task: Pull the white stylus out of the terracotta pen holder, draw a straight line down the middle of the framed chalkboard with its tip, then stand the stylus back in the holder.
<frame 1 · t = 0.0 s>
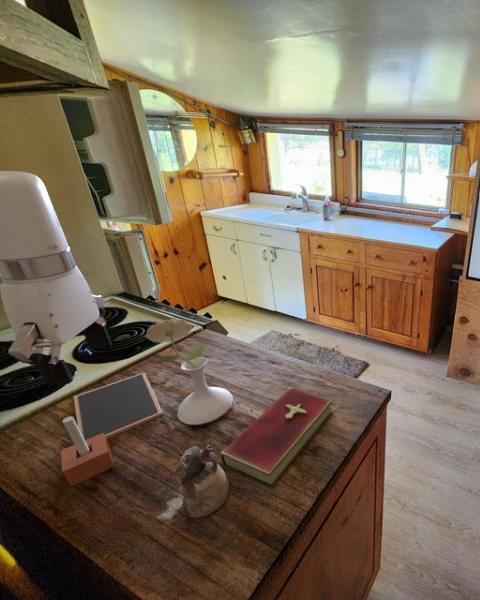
hand: (82, 363, 53), 24 cm above the counter, tool pointing down, fingers open, 9 cm apart
figurine: (208, 498, 58), on the counter
pen holder: (91, 465, 63), on the counter
stylus: (80, 443, 60), in the pen holder
hardcover book: (283, 437, 71), on the counter
framed chalkboard: (118, 406, 77), on the counter
flower in vase: (203, 412, 77), on the counter
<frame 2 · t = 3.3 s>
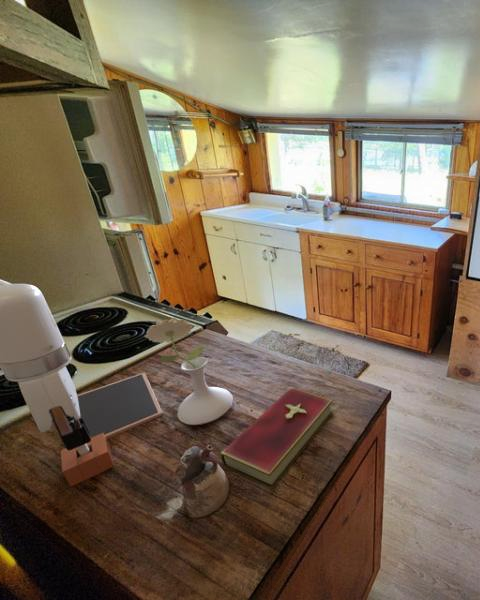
hand: (79, 441, 60), 7 cm above the counter, tool pointing down, fingers closed on stylus, 1 cm apart
stylus: (80, 443, 60), in the pen holder, touching gripper
everything else where it was.
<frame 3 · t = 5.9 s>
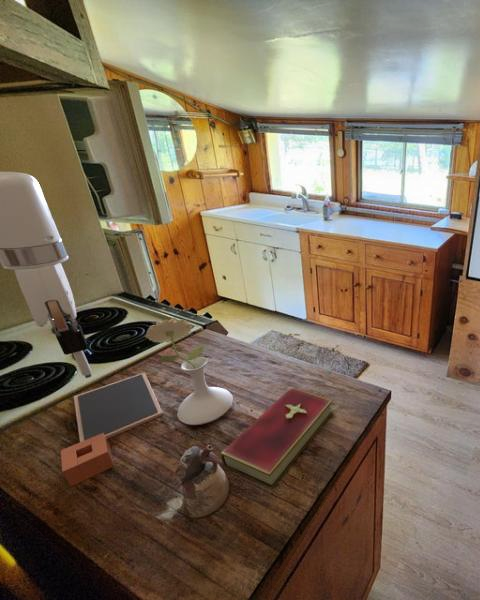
hand: (76, 348, 60), 22 cm above the counter, tool pointing down, fingers closed on stylus, 1 cm apart
stylus: (77, 350, 61), point 21 cm above the counter, touching gripper
everything else where it was.
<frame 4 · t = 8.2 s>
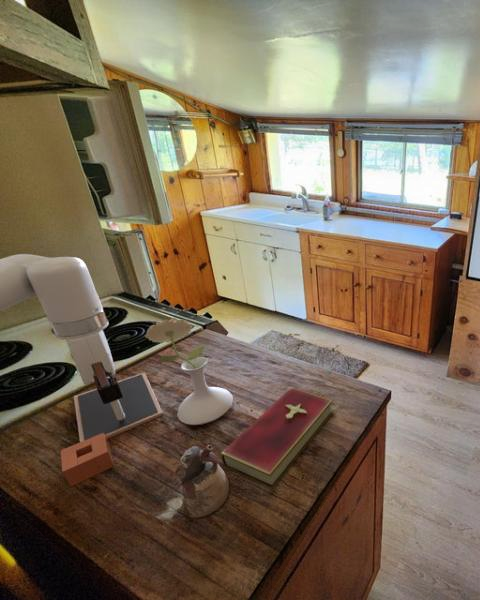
hand: (112, 397, 69), 7 cm above the counter, tool pointing down, fingers closed on stylus, 1 cm apart
stylus: (113, 399, 69), on the framed chalkboard, point 7 cm above the counter, touching gripper
everything else where it was.
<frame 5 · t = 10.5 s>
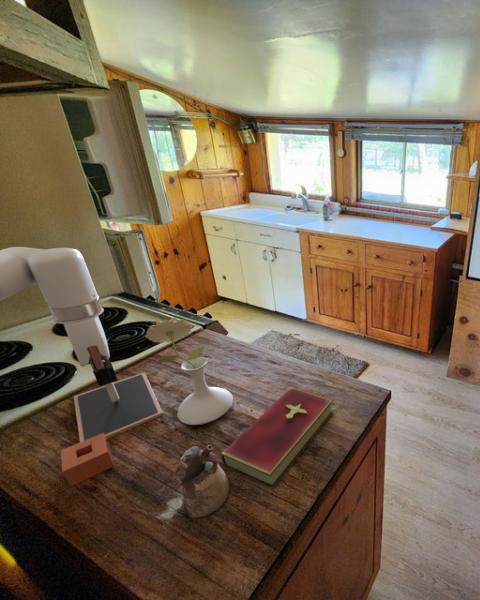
hand: (107, 380, 74), 7 cm above the counter, tool pointing down, fingers closed on stylus, 1 cm apart
stylus: (108, 381, 74), point 7 cm above the counter, touching gripper
everything else where it was.
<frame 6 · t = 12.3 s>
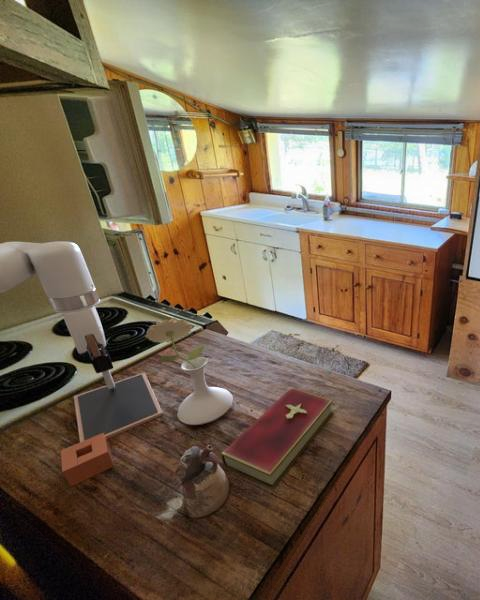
hand: (104, 368, 78), 7 cm above the counter, tool pointing down, fingers closed on stylus, 1 cm apart
stylus: (104, 369, 78), on the framed chalkboard, point 7 cm above the counter, touching gripper
everything else where it was.
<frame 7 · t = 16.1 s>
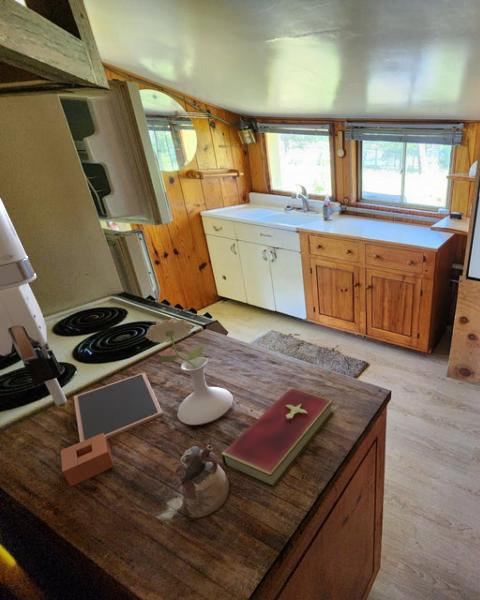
hand: (48, 376, 54), 21 cm above the counter, tool pointing down, fingers closed on stylus, 1 cm apart
stylus: (49, 378, 55), point 21 cm above the counter, touching gripper
everything else where it was.
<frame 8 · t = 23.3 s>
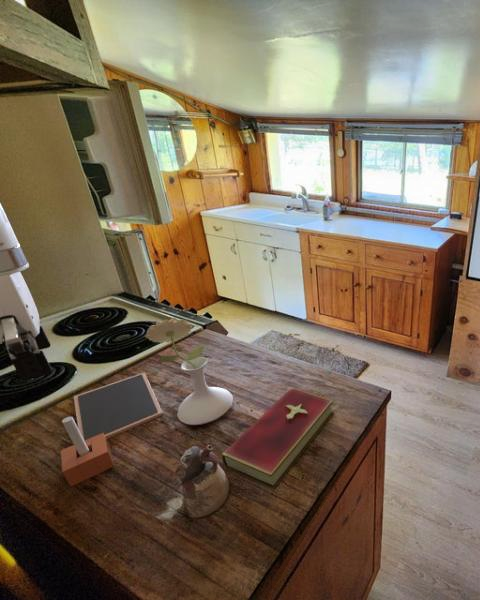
hand: (38, 362, 53), 24 cm above the counter, tool pointing down, fingers open, 9 cm apart
stylus: (79, 443, 60), in the pen holder
everything else where it was.
at the end: stylus 0.1 cm off-centre in the pen holder, point 6.0 cm above the pen holder's base; stylus tilted 0°; the gripper is holding nothing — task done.
